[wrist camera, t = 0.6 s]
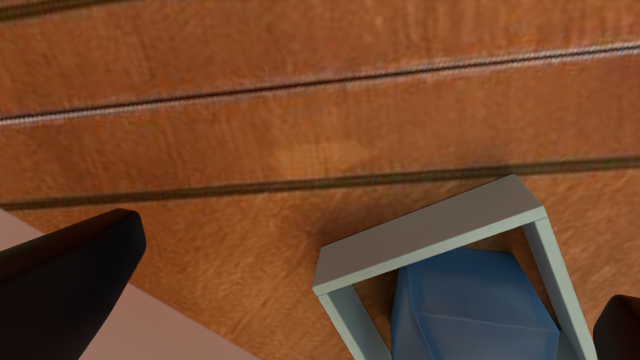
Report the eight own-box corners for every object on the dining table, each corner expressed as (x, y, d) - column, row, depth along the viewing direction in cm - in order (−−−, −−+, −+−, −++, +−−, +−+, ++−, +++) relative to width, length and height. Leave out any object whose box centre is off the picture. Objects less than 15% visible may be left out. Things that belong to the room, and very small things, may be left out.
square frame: (397, 380, 27) (400, 437, 24) (320, 247, 24) (311, 287, 20) (574, 334, 24) (610, 391, 20) (513, 173, 21) (544, 205, 17)
